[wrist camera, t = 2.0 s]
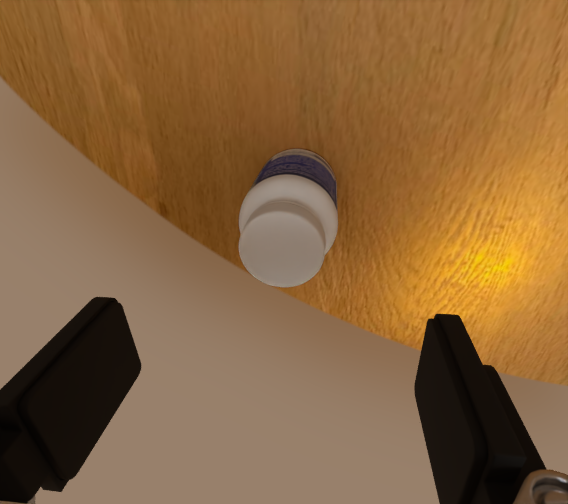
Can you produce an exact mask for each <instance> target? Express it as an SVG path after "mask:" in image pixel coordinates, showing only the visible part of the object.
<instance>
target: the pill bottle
mask: <svg viewBox="0 0 568 504" xmlns="http://www.w3.org/2000/svg"><path fill="white" fill-rule="evenodd" d="M239 229H240V233H241V236H240V239H239V254H240V258H241V260H242V263H243V264H244V266H245V268H246V269H247V270H248V271H249V273H250V274H252V275H253V276H254V277H255V278H257V279H258V280H259V281H261V282H263V283H265V284H268V285H271V286H276V287H294V286H297V285H301V284H303V283H305V282H307V281H309V280H310V279H311V278H313V277H314V276H315V275H316V273H317V272H318V271H319V269H320V268H321V266H322V263H323V261H324V256H325V254H326V253H327V252H328V251H329V250H330V248H331V246H332V245H333V243H334V240H335V238H336V234H337V229H338V212H337V183H336V178H335V175H334V172H333V170H332V168H331V167H330V165H329V164H328V163H327V162H326V161H325V160H324V159H323V158H322V157H321V156H319V155H317V154H316V153H314V152H311V151H308V150H304V149H289V150H285V151H282V152H280V153H278V154H276V155H274V156H273V157H272V158H271V159H269V160H268V162H267V163H266V164H265V165H264V167H263V168H262V170H261V171H260V173H259V175H258V177H257V178H256V180H255V181H254V183H253V185H252V186H251V188H250V190H249V191H248V193H247V195H246V197H245V199H244V201H243V203H242V206H241V209H240V214H239Z"/></svg>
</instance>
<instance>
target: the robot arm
mask: <svg viewBox="0 0 568 504" xmlns="http://www.w3.org/2000/svg"><path fill="white" fill-rule="evenodd" d="M140 370H141V362H140V359H139V356H138V353H137V350H136V346H135V343H134V340H133V337H132V334H131V332H130V328H129V325H128V322H127V319H126V316H125V313H124V310H123V307H122V305H121V304H120V303H118V301H117V300H116V299H115V298H108V297H95V298H93V299H92V300H91V301H90V302H89V303H88V304H87V305H86V306H85V307H84V308H83V309H82V310H81V311H80V312H79V313H78V314H77V315H76V316H75V317H74V318H73V319H72V320H71V321H69V322H68V323H67V325H66V326H64V327H63V328H62V329H61V330H60V331H59V332H58V333H57V334H56V335H55V336H54V337H53V338H52V339H51V340H50V341H49V342H48V343H47V344H46V345H45V346H44V347H43V348H42V349H41V350H40V351H39V352H38V353H37V354H36V355H35V356H34V357H33V358H32V359H31V360H30V361H29V362H28V363H27V364H26V365H25V366H24V367H23V368H22V369H21V370H20V371H19V372H18V373H17V374H16V375H15V376H14V377H13V378H12V379H11V380H10V381H9V382H8V383H7V384H6V385H5V386H4V387H3V388H2V389H1V390H0V504H35V494H36V493H37V491H38V490H39V488H40V487H42V488H43V490H50V491H58V492H61V491H62V490H63V489H64V487H65V485H66V484H67V482H68V481H69V480H70V479H72V478H73V477H75V476H76V474H77V473H78V472H79V470H80V468H81V467H82V465H83V464H84V462H85V460H86V459H87V457H88V456H89V454H90V452H91V451H92V449H93V448H94V446H95V444H96V443H97V441H98V440H99V438H100V436H101V435H102V433H103V432H104V430H105V428H106V427H107V425H108V424H109V422H110V420H111V419H112V417H113V416H114V414H115V412H116V411H117V409H118V408H119V406H120V404H121V403H122V401H123V399H124V398H125V396H126V395H127V393H128V392H129V390H130V388H131V387H132V385H133V383H134V382H135V380H136V379H137V377H138V375H139V373H140ZM415 397H416V402H417V407H418V411H419V415H420V420H421V423H422V428H423V433H424V437H425V441H426V446H427V450H428V455H429V459H430V463H431V467H432V472H433V476H434V481H435V485H436V489H437V493H438V498H439V502H440V504H568V475H566V474H564V473H560V472H557V471H554V470H547V469H546V467H545V465H544V463H543V461H542V460H541V457H540V455H539V453H538V452H537V449H536V448H535V446H534V444H533V442H532V440H531V438H530V436H529V434H528V432H527V430H526V428H525V426H524V425H523V422H522V420H521V418H520V416H519V414H518V412H517V410H516V408H515V406H514V404H513V402H512V400H511V398H510V396H509V394H508V392H507V390H506V388H505V387H504V385H503V383H502V381H501V379H500V377H499V375H498V373H497V371H496V370H495V368H494V367H492V366H491V365H483V364H482V362H481V360H480V358H479V356H478V354H477V352H476V350H475V347H474V345H473V343H472V341H471V339H470V337H469V335H468V333H467V331H466V328H465V326H464V324H463V322H462V320H461V318H460V316H459V315H451V314H436V315H435V317H434V319H428V321H427V326H426V331H425V336H424V340H423V345H422V350H421V356H420V360H419V365H418V370H417V375H416V380H415Z"/></svg>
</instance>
